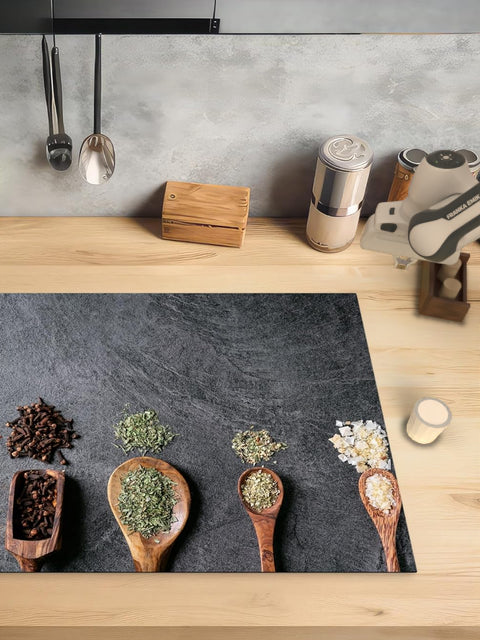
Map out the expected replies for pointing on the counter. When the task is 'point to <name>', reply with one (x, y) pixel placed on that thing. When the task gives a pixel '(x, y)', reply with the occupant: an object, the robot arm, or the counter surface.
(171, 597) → the counter surface
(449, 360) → the counter surface
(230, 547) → the counter surface
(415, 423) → the shot glass
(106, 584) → the counter surface
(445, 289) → the spice rack
